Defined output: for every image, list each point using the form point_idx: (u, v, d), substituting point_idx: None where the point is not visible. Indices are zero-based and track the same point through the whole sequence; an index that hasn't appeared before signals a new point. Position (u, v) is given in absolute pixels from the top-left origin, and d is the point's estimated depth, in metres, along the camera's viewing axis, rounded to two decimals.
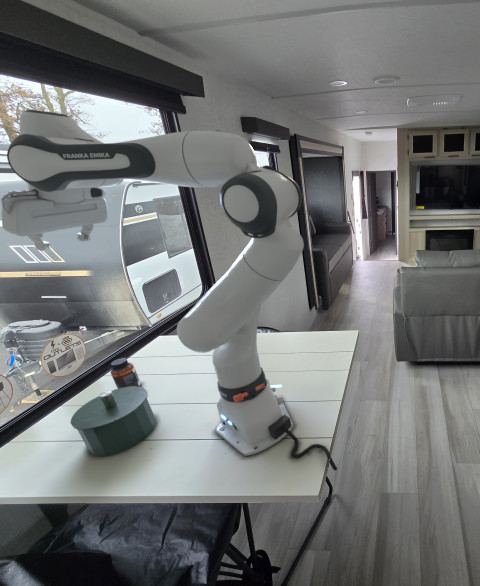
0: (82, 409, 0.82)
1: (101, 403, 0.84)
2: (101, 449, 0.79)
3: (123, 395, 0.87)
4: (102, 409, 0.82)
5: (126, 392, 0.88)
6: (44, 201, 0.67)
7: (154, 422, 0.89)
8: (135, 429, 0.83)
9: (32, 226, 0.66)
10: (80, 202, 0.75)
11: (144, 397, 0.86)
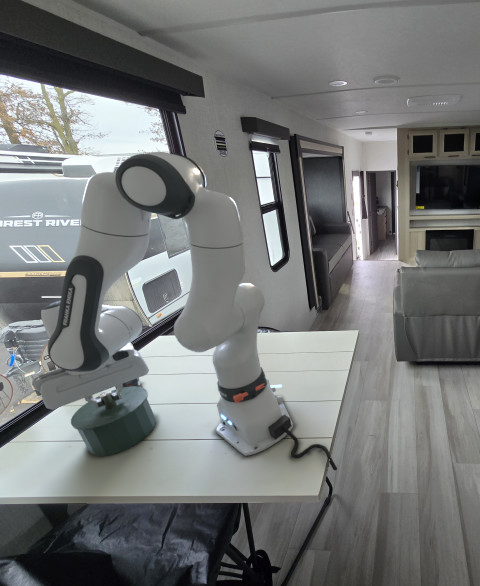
0: (82, 409, 0.82)
1: None
2: (101, 449, 0.79)
3: (123, 395, 0.87)
4: (102, 409, 0.82)
5: (126, 392, 0.88)
6: (68, 376, 0.74)
7: (154, 422, 0.89)
8: (135, 429, 0.83)
9: (59, 399, 0.74)
10: (109, 366, 0.79)
11: (144, 397, 0.86)
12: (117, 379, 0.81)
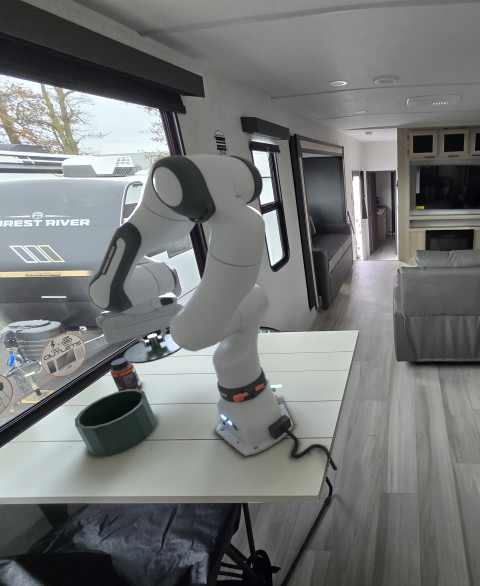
0: (131, 349, 0.94)
1: None
2: (101, 449, 0.79)
3: (165, 340, 0.99)
4: (149, 349, 0.94)
5: (167, 338, 1.00)
6: (124, 315, 0.87)
7: (154, 422, 0.89)
8: (135, 429, 0.83)
9: (116, 335, 0.87)
10: (157, 310, 0.92)
11: None
12: (162, 323, 0.94)
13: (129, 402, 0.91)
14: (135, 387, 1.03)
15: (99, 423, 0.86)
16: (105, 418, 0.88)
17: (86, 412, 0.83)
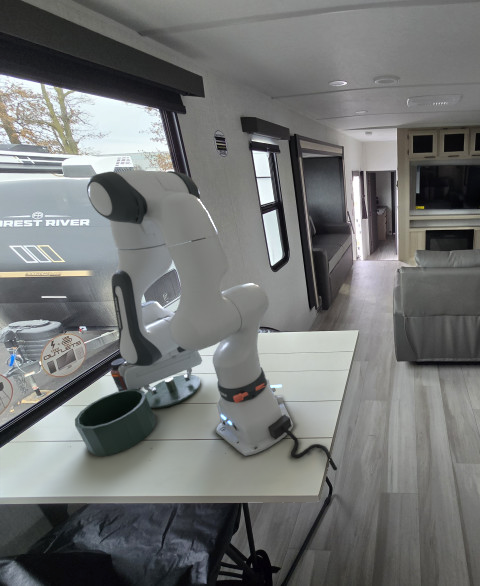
0: (150, 392, 1.01)
1: (164, 387, 1.03)
2: (101, 449, 0.79)
3: (180, 381, 1.06)
4: (166, 392, 1.01)
5: (182, 379, 1.07)
6: None
7: (154, 422, 0.89)
8: (135, 429, 0.83)
9: (137, 383, 0.93)
10: (174, 357, 0.98)
11: (198, 383, 1.05)
12: (179, 367, 1.00)
13: (129, 402, 0.91)
14: None
15: (99, 423, 0.86)
16: (105, 418, 0.88)
17: (86, 412, 0.83)
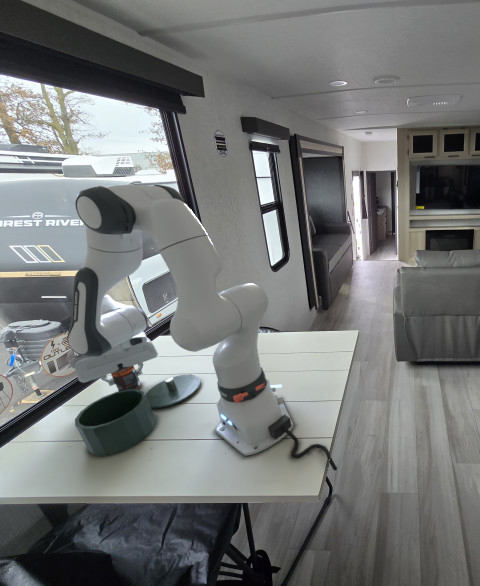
0: (150, 392, 1.01)
1: (164, 387, 1.03)
2: (101, 449, 0.79)
3: (180, 381, 1.06)
4: (166, 392, 1.01)
5: (182, 379, 1.07)
6: (96, 356, 0.95)
7: (154, 422, 0.89)
8: (135, 429, 0.83)
9: (89, 375, 0.95)
10: (127, 350, 1.00)
11: (198, 383, 1.05)
12: (133, 360, 1.02)
13: (129, 402, 0.91)
14: (135, 387, 1.03)
15: (99, 423, 0.86)
16: (105, 418, 0.88)
17: (86, 412, 0.83)
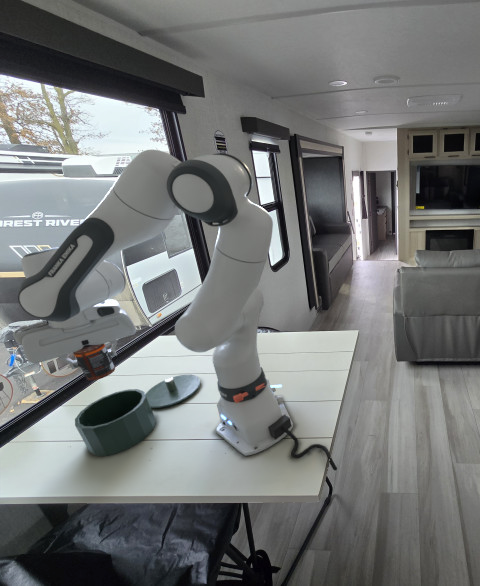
0: (150, 392, 1.01)
1: (164, 387, 1.03)
2: (101, 449, 0.79)
3: (180, 381, 1.06)
4: (166, 392, 1.01)
5: (182, 379, 1.07)
6: (51, 329, 0.72)
7: (154, 422, 0.89)
8: (135, 429, 0.83)
9: (42, 353, 0.72)
10: (94, 322, 0.77)
11: (198, 383, 1.05)
12: (103, 337, 0.79)
13: (129, 402, 0.91)
14: (106, 371, 0.81)
15: (99, 423, 0.86)
16: (105, 418, 0.88)
17: (86, 412, 0.83)
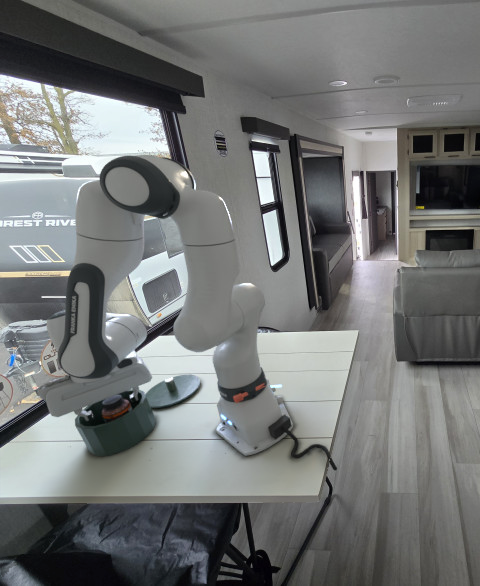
0: (150, 392, 1.01)
1: (164, 387, 1.03)
2: (101, 449, 0.79)
3: (180, 381, 1.06)
4: (166, 392, 1.01)
5: (182, 379, 1.07)
6: (73, 384, 0.75)
7: (154, 422, 0.89)
8: (135, 429, 0.83)
9: (64, 407, 0.75)
10: (113, 374, 0.80)
11: (198, 383, 1.05)
12: (121, 386, 0.82)
13: None
14: None
15: (99, 423, 0.86)
16: None
17: None
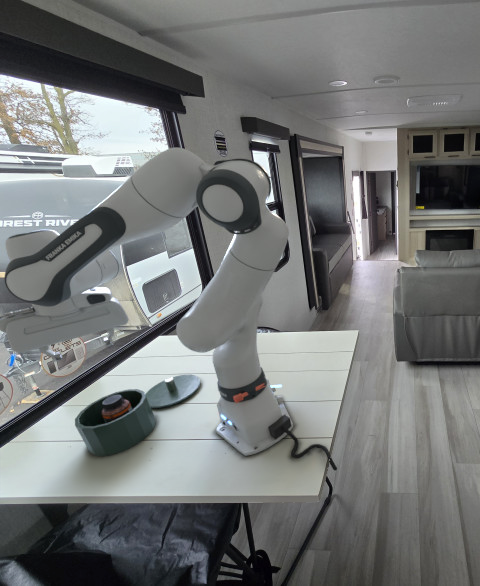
0: (150, 392, 1.01)
1: (164, 387, 1.03)
2: (101, 449, 0.79)
3: (180, 381, 1.06)
4: (166, 392, 1.01)
5: (182, 379, 1.07)
6: (37, 317, 0.68)
7: (154, 422, 0.89)
8: (135, 429, 0.83)
9: (27, 342, 0.68)
10: (84, 310, 0.73)
11: (198, 383, 1.05)
12: (93, 326, 0.75)
13: None
14: None
15: (99, 423, 0.86)
16: None
17: (86, 412, 0.83)
